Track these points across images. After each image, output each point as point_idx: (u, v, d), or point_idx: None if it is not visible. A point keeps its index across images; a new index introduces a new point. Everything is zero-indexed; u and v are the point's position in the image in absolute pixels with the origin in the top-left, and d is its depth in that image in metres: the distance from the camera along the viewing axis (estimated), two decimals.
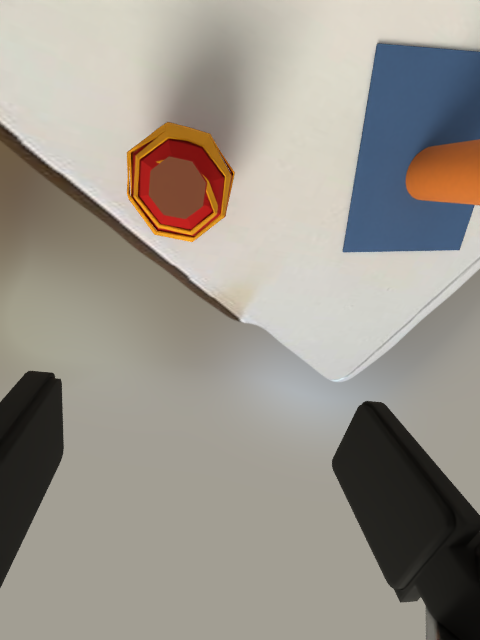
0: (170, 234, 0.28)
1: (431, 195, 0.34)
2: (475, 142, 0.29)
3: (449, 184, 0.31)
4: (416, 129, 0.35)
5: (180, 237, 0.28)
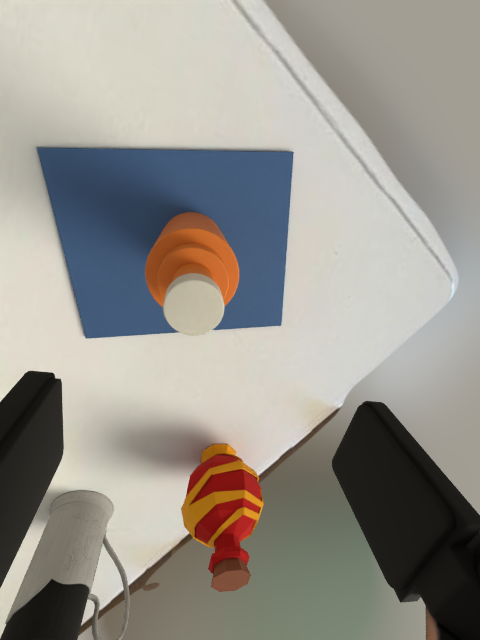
0: (257, 519, 0.36)
1: None
2: None
3: None
4: None
5: None
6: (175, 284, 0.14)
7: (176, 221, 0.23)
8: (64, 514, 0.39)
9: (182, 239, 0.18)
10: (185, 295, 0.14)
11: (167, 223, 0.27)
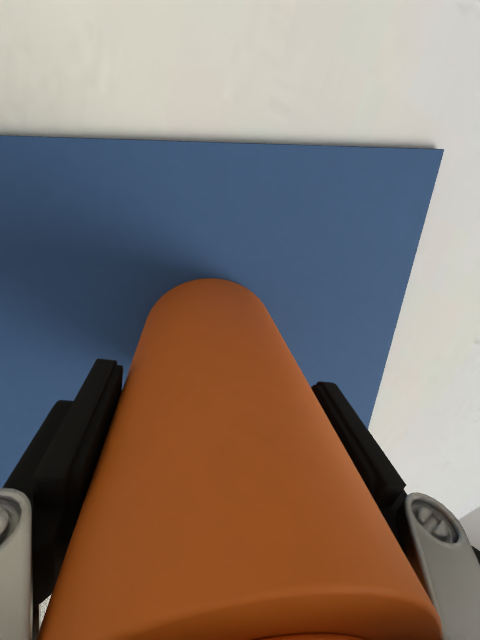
0: None
1: None
2: None
3: None
4: None
5: None
6: None
7: (175, 352, 0.08)
8: None
9: (203, 638, 0.03)
10: None
11: (156, 307, 0.12)
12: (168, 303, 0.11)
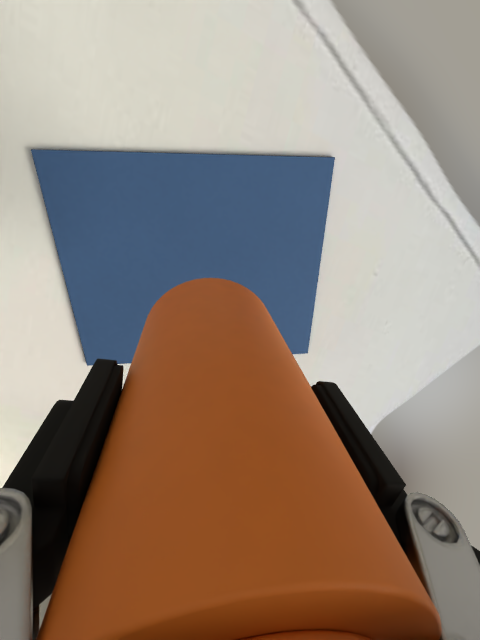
0: None
1: None
2: None
3: None
4: (159, 298, 0.26)
5: None
6: None
7: (175, 351, 0.08)
8: None
9: (204, 634, 0.03)
10: None
11: (156, 307, 0.12)
12: (168, 302, 0.11)
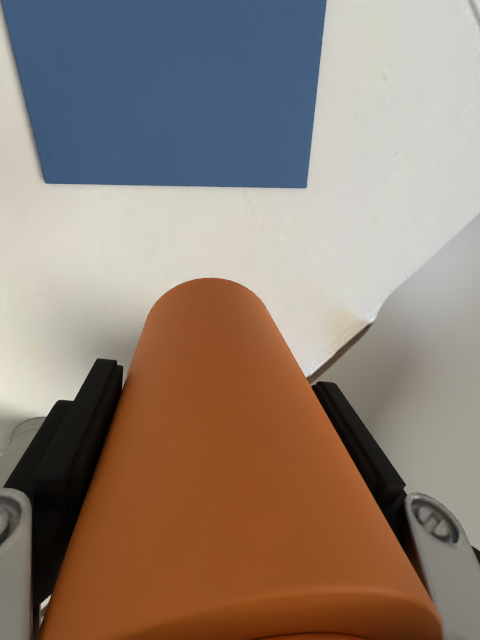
0: None
1: None
2: None
3: None
4: (129, 86, 0.22)
5: None
6: None
7: (175, 351, 0.08)
8: (24, 441, 0.31)
9: (204, 637, 0.03)
10: None
11: (156, 307, 0.12)
12: (168, 303, 0.11)
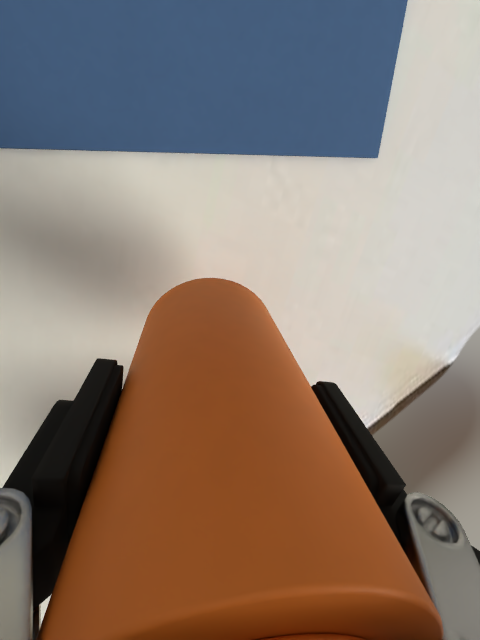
0: None
1: None
2: None
3: None
4: None
5: None
6: None
7: (175, 351, 0.08)
8: None
9: (204, 638, 0.03)
10: None
11: (156, 307, 0.12)
12: (168, 303, 0.11)
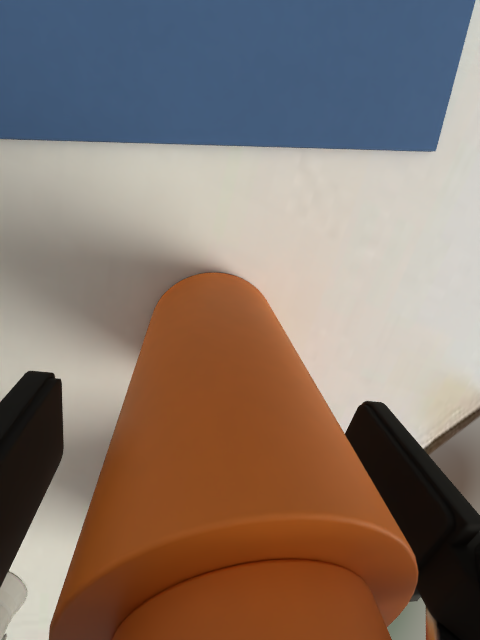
0: None
1: None
2: None
3: None
4: None
5: None
6: None
7: (183, 336, 0.08)
8: None
9: (212, 556, 0.04)
10: None
11: (163, 299, 0.13)
12: (174, 295, 0.12)
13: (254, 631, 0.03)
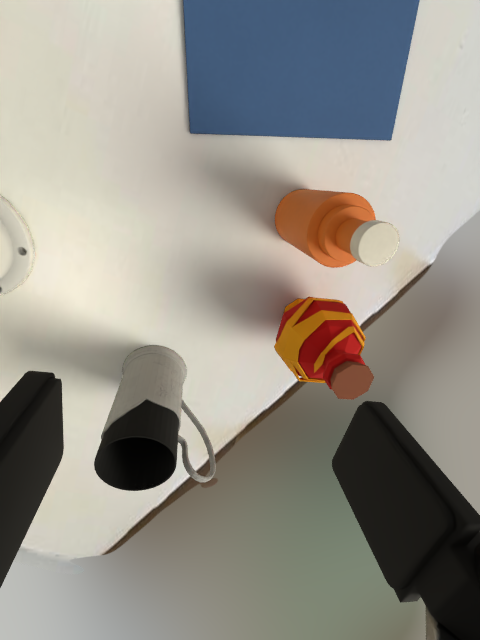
0: None
1: None
2: (296, 243, 0.28)
3: None
4: (265, 52, 0.27)
5: (361, 348, 0.33)
6: (370, 225, 0.19)
7: (311, 192, 0.28)
8: (144, 360, 0.37)
9: (340, 201, 0.24)
10: (376, 234, 0.19)
11: (286, 198, 0.33)
12: (293, 194, 0.32)
13: (349, 205, 0.23)
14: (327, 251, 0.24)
